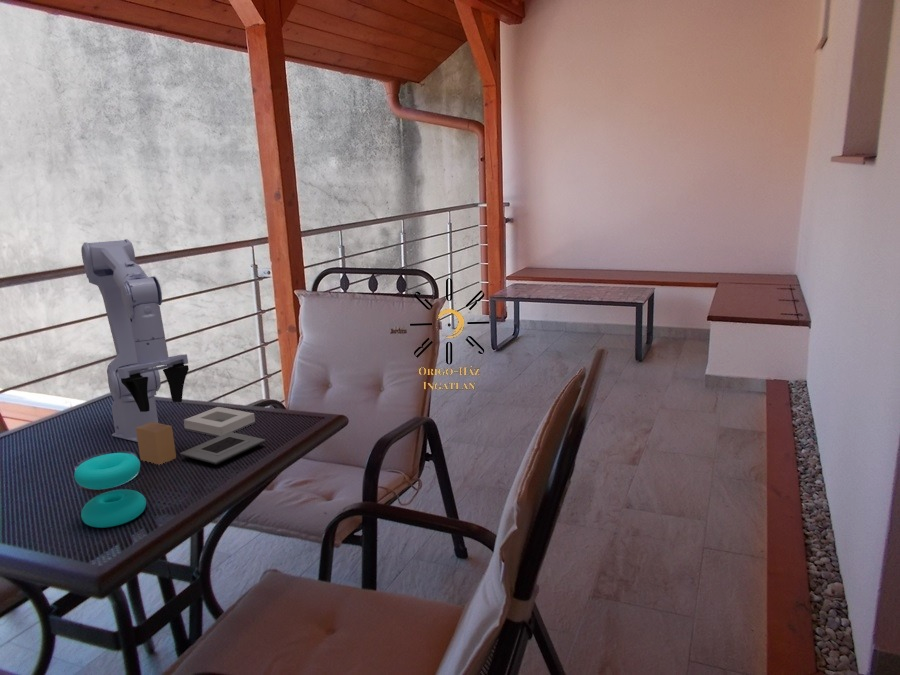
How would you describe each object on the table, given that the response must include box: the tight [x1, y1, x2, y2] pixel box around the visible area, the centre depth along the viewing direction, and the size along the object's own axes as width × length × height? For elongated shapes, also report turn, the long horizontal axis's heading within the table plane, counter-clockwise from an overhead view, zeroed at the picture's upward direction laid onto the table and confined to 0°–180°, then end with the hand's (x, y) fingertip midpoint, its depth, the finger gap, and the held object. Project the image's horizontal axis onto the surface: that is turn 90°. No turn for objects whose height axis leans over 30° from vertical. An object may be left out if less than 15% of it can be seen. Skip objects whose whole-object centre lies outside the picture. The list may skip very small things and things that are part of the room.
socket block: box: [183, 406, 256, 438], centre depth 159 cm, size 12×10×2 cm
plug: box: [136, 422, 177, 466], centre depth 141 cm, size 6×4×7 cm, turn 60°
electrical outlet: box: [179, 432, 266, 466], centre depth 143 cm, size 13×10×2 cm
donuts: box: [73, 452, 147, 529], centre depth 116 cm, size 10×10×10 cm
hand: (161, 406), depth 138 cm, fingers open, 7 cm apart
